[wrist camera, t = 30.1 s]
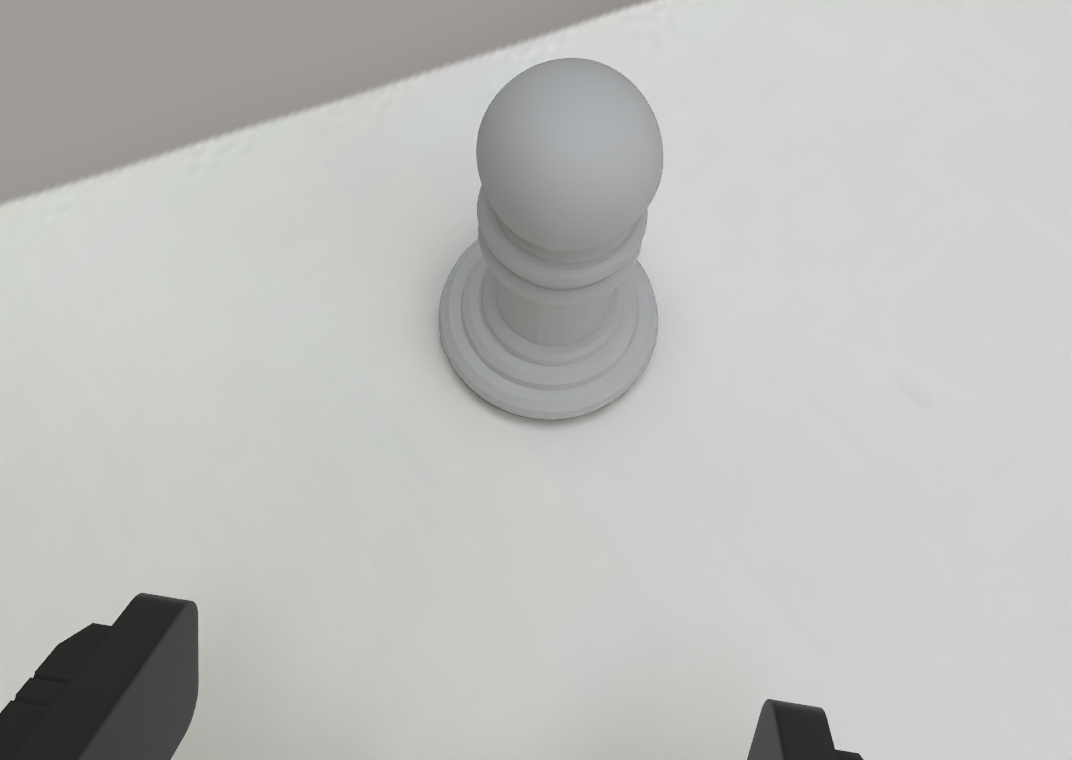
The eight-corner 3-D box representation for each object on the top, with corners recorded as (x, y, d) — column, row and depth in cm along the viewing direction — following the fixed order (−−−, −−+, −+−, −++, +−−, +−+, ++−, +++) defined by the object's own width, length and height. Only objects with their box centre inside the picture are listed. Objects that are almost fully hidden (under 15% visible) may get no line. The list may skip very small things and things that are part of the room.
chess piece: (695, 366, 24) (798, 153, 16) (502, 463, 23) (501, 292, 15) (588, 199, 26) (629, -74, 17) (403, 282, 25) (352, 35, 16)
